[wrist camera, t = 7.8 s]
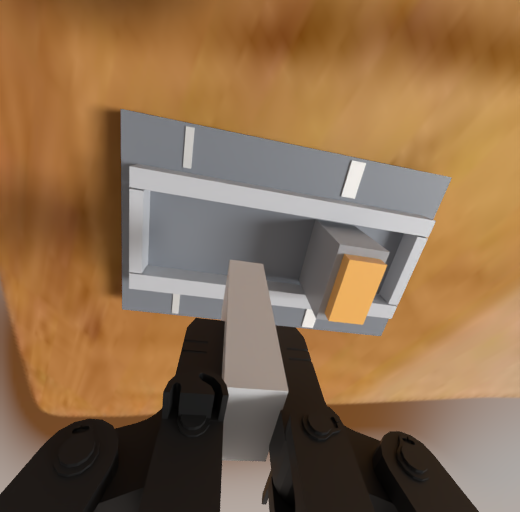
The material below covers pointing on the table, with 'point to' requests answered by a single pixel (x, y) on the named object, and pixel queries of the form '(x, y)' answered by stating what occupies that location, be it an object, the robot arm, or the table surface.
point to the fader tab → (342, 272)
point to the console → (256, 218)
